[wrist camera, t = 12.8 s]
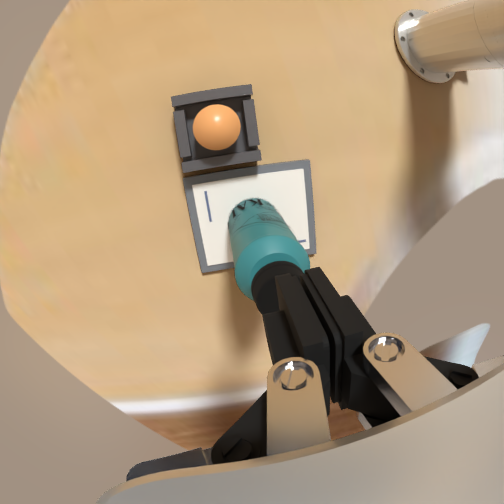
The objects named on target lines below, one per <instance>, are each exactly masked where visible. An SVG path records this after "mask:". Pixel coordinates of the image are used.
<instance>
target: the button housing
mask: <svg viewBox="0 0 504 504" xmlns="http://www.w3.org/2000/svg"><path fill="white" fill-rule="evenodd" d="M251 95H253V92H252V85H251V84H250V85H241V86H233V87H225V88H218V89H211V90H205V91H199V92H193V93H188V94H183V95H178V96H173V97H171V100H172V107H174V108H175V112H173V114H174V120H175V127H176V133H177V139H178V146H179V151H180V157H181V158H182V157H183V162H182V169H183V173H186V172H191V171H197V170H202V169H208V168H214V167H220V166H226V165H233V164H239V163H246V162H253V161H260V160H262V159H261V151H260V150H259V149H258V146H257V145H260V144H259V136H258V129H257V121H256V114H255V106H254V99H251ZM216 104H219V105H224V106H227V107H229V108H231V109H232V110H233V111H234V112H235V113H236V114H237V116H238V118H239V120H240V126H241V128H240V134H239V136H238V138H237V140H236V141H235V142H234V143H233V144H232V145H231V146H229V147H228V148H225V149H222V150H210V149H207V148H205V147H203V146H202V145H200V144H199V143H198V141H197V140H196V138H195V136H194V133H193V123H194V119H195V117H196V116H197V114H198V113H199V112H200V111H201V110H202V109H204V108H205V107H207V106H210V105H216Z"/></svg>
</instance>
